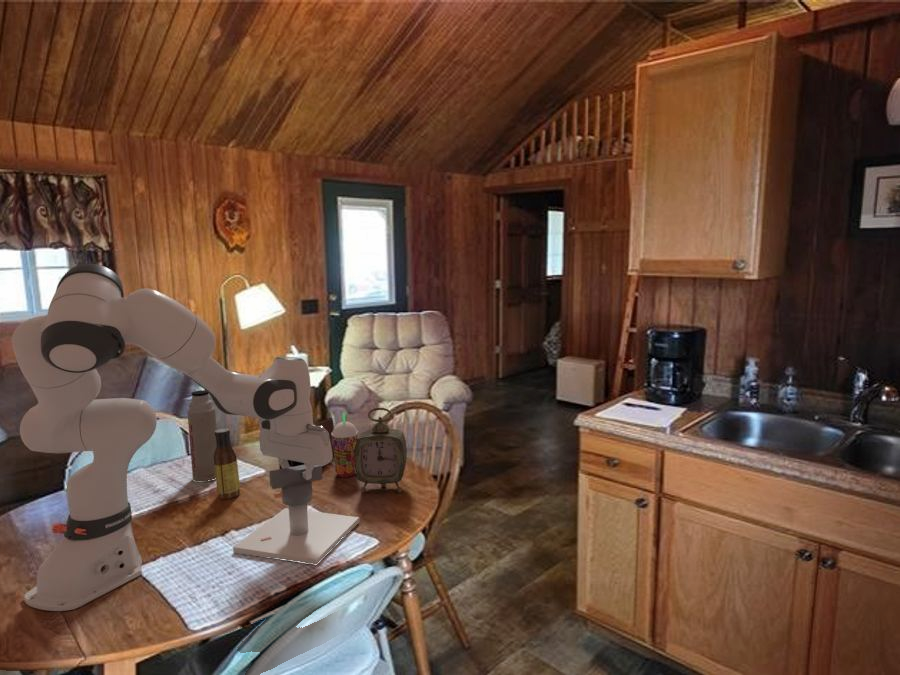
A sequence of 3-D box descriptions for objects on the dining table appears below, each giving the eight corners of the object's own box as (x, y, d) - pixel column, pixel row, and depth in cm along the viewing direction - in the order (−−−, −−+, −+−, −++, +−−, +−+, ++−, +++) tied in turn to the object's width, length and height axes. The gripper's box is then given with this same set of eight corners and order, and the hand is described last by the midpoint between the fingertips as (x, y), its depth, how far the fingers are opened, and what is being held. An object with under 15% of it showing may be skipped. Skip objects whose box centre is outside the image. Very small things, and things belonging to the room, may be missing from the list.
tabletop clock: (355, 495, 168) (352, 411, 164) (361, 483, 177) (358, 403, 173) (405, 495, 167) (402, 411, 164) (408, 483, 176) (406, 403, 173)
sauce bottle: (244, 491, 172) (239, 426, 169) (234, 500, 166) (229, 433, 163) (223, 490, 173) (218, 426, 170) (212, 499, 166) (207, 433, 164)
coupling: (317, 489, 148) (315, 459, 147) (325, 499, 142) (324, 468, 140) (269, 499, 142) (267, 468, 141) (275, 510, 136) (273, 478, 135)
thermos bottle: (193, 484, 178) (185, 395, 174) (192, 475, 185) (185, 390, 181) (220, 479, 181) (214, 392, 177) (219, 471, 189) (213, 387, 185)
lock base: (316, 566, 130) (314, 526, 128) (233, 552, 136) (230, 514, 135) (359, 522, 150) (358, 488, 149) (285, 513, 157) (283, 479, 156)
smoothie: (328, 477, 182) (325, 416, 179) (340, 468, 190) (338, 409, 187) (352, 480, 179) (349, 417, 176) (364, 470, 187) (361, 410, 184)
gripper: (336, 423, 137) (339, 479, 139) (272, 414, 147) (275, 466, 149) (319, 431, 132) (322, 488, 134) (253, 420, 141) (257, 474, 143)
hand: (297, 476), depth 141 cm, fingers closed on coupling, 5 cm apart
